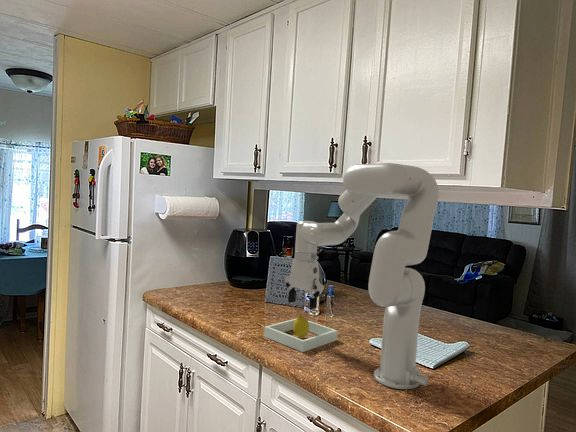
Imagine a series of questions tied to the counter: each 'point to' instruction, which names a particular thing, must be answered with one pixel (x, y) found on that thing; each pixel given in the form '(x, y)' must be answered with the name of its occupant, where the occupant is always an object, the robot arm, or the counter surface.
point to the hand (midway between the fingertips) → (302, 305)
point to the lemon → (301, 327)
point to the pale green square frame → (276, 334)
